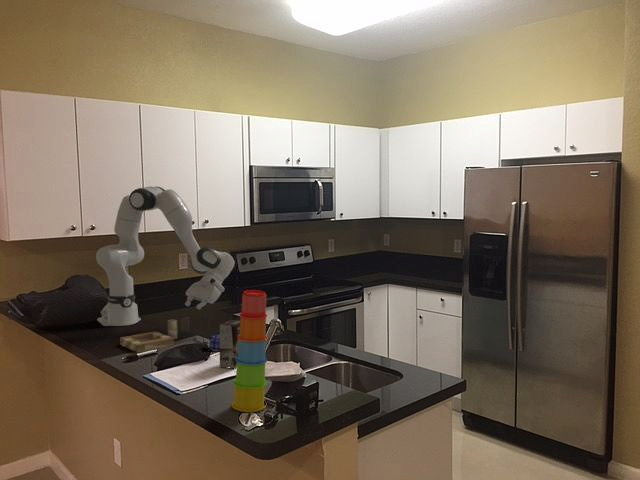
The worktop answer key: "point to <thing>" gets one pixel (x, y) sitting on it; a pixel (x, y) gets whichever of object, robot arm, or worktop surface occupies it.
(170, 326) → the peg
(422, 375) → the worktop surface
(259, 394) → the stacking cups
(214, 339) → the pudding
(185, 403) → the worktop surface
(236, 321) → the coffee box
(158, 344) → the collar
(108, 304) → the robot arm
